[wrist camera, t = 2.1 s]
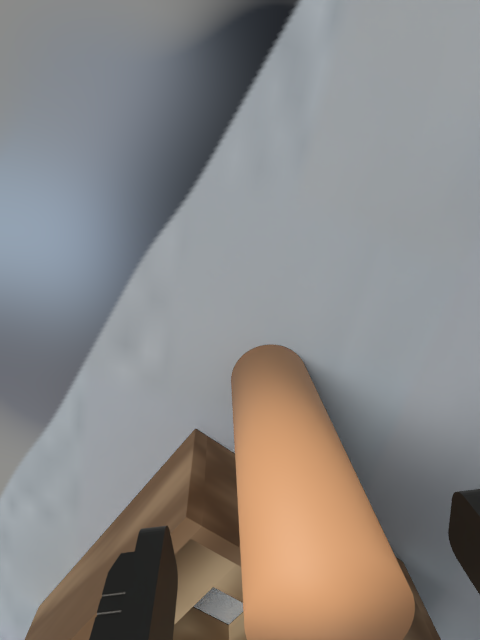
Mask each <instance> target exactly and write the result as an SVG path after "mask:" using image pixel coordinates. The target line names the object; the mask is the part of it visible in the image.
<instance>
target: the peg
mask: <svg viewBox="0 0 480 640" xmlns="http://www.w3.org/2000/svg"><path fill="white" fill-rule="evenodd" d="M231 386H232V405H233V424H234V442H235V461H236V479H237V498H238V516H239V535H240V554H241V572H242V591H243V609H244V628H245V634H246V638H247V640H403V638H404V637H405V636H406V634H407V633H408V631H409V629H410V627H411V625H412V621H413V618H414V613H415V601H414V597H413V593H412V591H411V589H410V587H409V585H408V583H407V580H406V578H405V576H404V574H403V572H402V570H401V568H400V566H399V564H398V561H397V559H396V557H395V555H394V553H393V551H392V549H391V547H390V545H389V542H388V540H387V538H386V536H385V534H384V532H383V530H382V528H381V525H380V523H379V521H378V519H377V517H376V515H375V513H374V511H373V509H372V506H371V504H370V502H369V500H368V498H367V496H366V494H365V492H364V490H363V487H362V485H361V483H360V481H359V479H358V477H357V475H356V473H355V471H354V468H353V466H352V464H351V462H350V460H349V458H348V456H347V454H346V452H345V449H344V447H343V445H342V443H341V441H340V439H339V437H338V435H337V433H336V430H335V428H334V426H333V424H332V422H331V420H330V418H329V416H328V413H327V411H326V409H325V407H324V405H323V403H322V401H321V399H320V397H319V394H318V392H317V390H316V388H315V386H314V384H313V382H312V380H311V378H310V375H309V373H308V371H307V369H306V367H305V365H304V363H303V361H302V360H301V358H300V357H299V356H298V355H297V354H296V353H295V352H293V351H292V350H290V349H288V348H286V347H283V346H279V345H263V346H259V347H256V348H253V349H251V350H250V351H248V352H246V353H245V354H244V355H243V356H242V357H241V358H240V359H239V360H238V361H237V363H236V365H235V366H234V369H233V372H232V376H231Z"/></svg>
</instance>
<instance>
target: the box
mask: <svg viewBox="0 0 480 640" xmlns="http://www.w3.org/2000/svg"><path fill="white" fill-rule="evenodd" d="M160 526H168V527H169V530H170V535H171V539H172V544H173V549H174V554H175V558H176V563H177V571H178V591H177V601H176V612H175V622H174V632H173V640H247V638H246V634H245V628H244V612H242V613H241V614H240V615H239V616H238V617H237V618H236V619H235V620H234V621H233V622H232V623H231V624H229V625H227V624H225V623H223V622H221V621H219V620H217V619H215V618H213V617H211V616H210V615H208V614H206V613H204V612H202V611H200V610H198V609H196V608H194V607H193V606H194V605H195V604H196V603H197V602H198V601H199V600H200V599H201V598H202V597H203V596H204V595H205V594H206V593H207V592H209V591H210V590H211V589H212V588H213V587H214V588H216V589H218V590H220V591H222V592H224V593H226V594H227V595H229V596H231V597H233V598H235V599H237V600H239V601H241V602H243V591H242V572H241V554H240V535H239V516H238V498H237V479H236V461H235V454H234V453H233V452H231V451H229V450H228V449H226V448H225V447H223V446H222V445H220V444H218V443H217V442H215V441H214V440H212V439H211V438H209V437H208V436H206V435H204V434H203V433H201V432H200V431H198V430H197V429H195V430H194V431H193V432H192V433H191V434H190V435H189V437H188V438H187V439H186V440H185V441H184V442H183V443H182V445H181V446H180V447H179V448H178V449H177V450H176V451H175V453H174V454H173V455H172V456H171V457H170V458H169V459H168V460H167V462H166V463H165V464H164V465H163V466H162V467H161V468H160V470H159V471H158V472H157V473H156V474H155V475H154V476H153V478H152V479H151V480H150V481H149V482H148V483H147V484H146V486H145V487H144V488H143V489H142V490H141V491H140V492H139V493H138V495H137V496H136V497H135V498H134V499H133V500H132V501H131V503H130V504H129V505H128V506H127V507H126V508H125V509H124V511H123V512H122V513H121V514H120V515H119V516H118V517H117V519H116V520H115V521H114V522H113V523H112V524H111V525H110V527H109V528H108V529H107V530H106V531H105V532H104V533H103V534H102V536H101V537H100V538H99V539H98V540H97V541H96V542H95V544H94V545H93V546H92V547H91V548H90V549H89V550H88V552H87V553H86V554H85V555H84V556H83V557H82V558H81V560H80V561H79V562H78V563H77V564H76V565H75V566H74V567H73V569H72V570H71V571H70V572H69V573H68V574H67V575H66V577H65V578H64V579H63V580H62V581H61V582H60V583H59V585H58V586H57V587H56V588H55V589H54V590H53V591H52V593H51V594H50V595H49V596H48V597H47V598H46V599H45V600H44V602H43V603H42V604H41V605H40V606H39V608H38V610H37V612H36V615H35V617H34V619H33V622H32V624H31V626H30V629H29V631H28V633H27V635H26V638H25V640H89V638H90V635H91V631H92V628H93V624H94V621H95V617H97V610H98V606H99V603H100V599H101V598H102V592H103V588H104V585H105V581H106V578H107V574H108V572H109V570H110V569H111V567H112V566H113V564H114V563H115V561H116V560H117V558H118V557H119V555H120V554H121V553H126V552H134V551H135V547H136V543H137V538H138V534H139V531H140V529H143V528H151V527H160ZM396 559H397V561H398V564H399V566H400V568H401V570H402V572H403V574H404V576H405V578H406V580H407V583H408V585H409V587H410V589H411V591H412V593H413V597H414V601H415V613H414V618H413V621H412V625H411V627H410V629H409V631H408V633H407V634H406V636H405V637H404V638H403V640H441V639H440V637H439V635H438V633H437V631H436V629H435V627H434V625H433V623H432V621H431V618H430V616H429V614H428V612H427V610H426V608H425V606H424V604H423V602H422V600H421V598H420V596H419V594H418V592H417V590H416V588H415V586H414V584H413V582H412V579H411V577H410V575H409V573H408V571H407V569H406V567H405V565H404V563H403V562H402V561H401V560H399V559H398V558H396Z"/></svg>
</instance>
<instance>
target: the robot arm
mask: <svg viewBox="0 0 480 640" xmlns="http://www.w3.org/2000/svg"><path fill="white" fill-rule="evenodd" d="M449 540H450V544H451V547H452V550H453V552H454V554H455V556H456V558H457V560H458V561H459V563H460V564H461V566H462V568H463V569H464V571H465V572H466V574H467V575H468V577H469V579H470V580H471V582H472V583H473V585H474V586H475V588H476V590H477V591H478V593H479V594H480V489H476V490H468V491H459V492H455V493H454V494H453V497H452V505H451V514H450V522H449ZM177 591H178V571H177V563H176V558H175V554H174V549H173V544H172V539H171V535H170V530H169V527H168V526H160V527H151V528H143V529H140V531H139V534H138V538H137V543H136V547H135V551H134V552H126V553H121V554H120V555H119V557H118V558H117V560H116V561H115V563H114V564H113V566H112V567H111V569H110V570H109V572H108V574H107V578H106V581H105V585H104V588H103V592H102V598H101V599H100V603H99V606H98V610H97V617H95V621H94V624H93V628H92V631H91V635H90V638H89V640H173V632H174V622H175V612H176V601H177Z"/></svg>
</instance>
